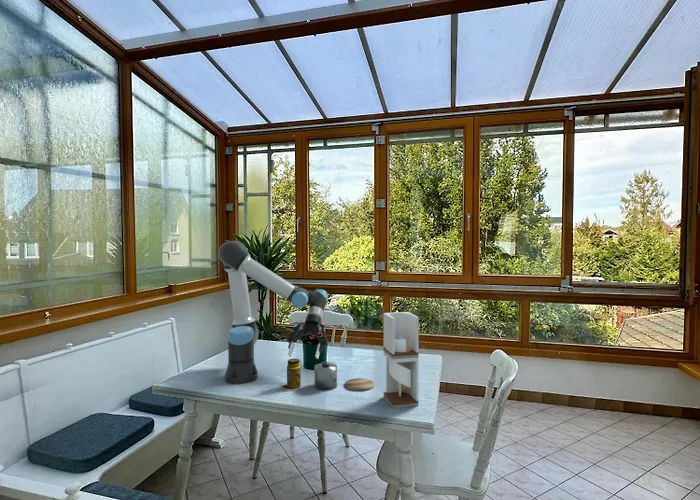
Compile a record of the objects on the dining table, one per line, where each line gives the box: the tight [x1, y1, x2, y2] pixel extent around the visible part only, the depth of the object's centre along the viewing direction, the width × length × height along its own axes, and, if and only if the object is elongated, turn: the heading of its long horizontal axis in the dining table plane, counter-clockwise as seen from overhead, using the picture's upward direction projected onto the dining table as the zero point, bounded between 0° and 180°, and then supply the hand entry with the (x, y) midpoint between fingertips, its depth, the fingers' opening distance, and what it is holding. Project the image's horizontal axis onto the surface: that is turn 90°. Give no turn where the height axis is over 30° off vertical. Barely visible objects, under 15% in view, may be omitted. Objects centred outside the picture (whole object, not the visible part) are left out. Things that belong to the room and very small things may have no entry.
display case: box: [383, 311, 420, 409], centre depth 162 cm, size 11×11×35 cm
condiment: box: [279, 358, 305, 392], centre depth 179 cm, size 7×8×12 cm
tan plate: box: [344, 377, 375, 392], centre depth 180 cm, size 13×13×1 cm
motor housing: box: [313, 361, 338, 392], centre depth 180 cm, size 10×10×10 cm
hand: (302, 356), depth 187 cm, fingers open, 13 cm apart
